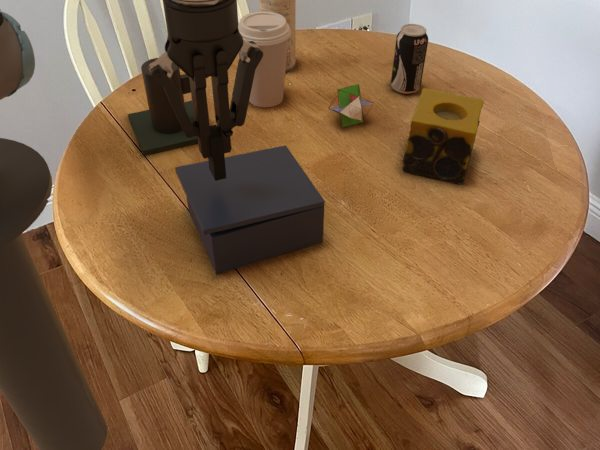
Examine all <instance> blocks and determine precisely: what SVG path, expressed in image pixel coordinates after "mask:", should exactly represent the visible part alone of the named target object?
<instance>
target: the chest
mask: <svg viewBox="0 0 600 450" xmlns="http://www.w3.org/2000/svg"><path fill="white" fill-rule="evenodd" d="M185 198H186V203H187V204H186V205H187V209H188V213H189V215H190V217H191V220H192V222H193V225H194V227H195V229H196V231H197V234H198V236H199V238H200V241H201V243H202V245H203V248H204V250H205V252H206V255H207V256H208V259H209V261H210V264H211V265H212V268H213V270H214V272H215V275H220V274H224V273H226V272H227V273H228V272H230V271H233V270H236V269H240V268H242V267H246V266H249V265H252V264H253V265H254V264H257V263H260V262H262V261H267V260H269V259H272V258H276V257H279V256H282V255H285V254H290V253H293V252H295V251H298V250H299V251H300V250H302V249H305V248H308V247H309V248H310V247H312V246H316V245H319V244H322V243H323V242H324V223H325V205H324V206H322V207H318V208H314V209H310V210H305V211H301V212H297V213H293V214H289V215H285V216H281V217H276V218H272V219H268V220H264V221H260V222H256V223H252V224H248V225H243V226H239V227H235V228H231V229H227V230H223V231H219V232H214V233H210V234H206V235H203V233H202V230H201V228H200V226H199V224H198V221H197V219H196V217H195V215H194V212H193V210H192V208H191V205H190V203H189V201H188V199H187V196H186V195H185Z"/></svg>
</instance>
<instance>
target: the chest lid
mask: <svg viewBox="0 0 600 450" xmlns="http://www.w3.org/2000/svg"><path fill="white" fill-rule="evenodd" d="M225 167H226V178H225V179H221V180H217V181H215V179H214V177H213V175H212V173H211V171H210V169H209V163H208V160H206V161H199V162H195V163H190V164H185V165H180V166H175V168H174V169H175V174H176V176H177V178H178V180H179V183H180V185H181V187H182V189H183V192H184V194H185V197H186V196H187V198H186V200H187V199H188V201H189V203H190V205H191V208H192V210H193V212H194V215H195V217H196V219H197V221H198V224H199V226H200V228H201V230H202V233H203V235H206V234H210V233H214V232H219V231H223V230H227V229H231V228H235V227H239V226H243V225H248V224H252V223H256V222H260V221H264V220H268V219H272V218H276V217H281V216H285V215H289V214H293V213H297V212H301V211H305V210H310V209H314V208H318V207H322V206H324V207H325V205H326V204H325V203H326V201H325V199H324V197H323V196H322V194H321V193H320V192H319V190H318V189H317V188H316V186H315V185H314V184H313V182H312V181H311V179H310V177H309V176H308V175H307V173H306V172H305V170H304V169H303V168H302V166H301V165H300V163H299V162H298V160H297V159H296V158H295V156H294V155H293V153H292V152H291V150H290V149H289V147H288V146H287V145H286V144H284V145H280V146H274V147H270V148H265V149H259V150H255V151H250V152H245V153H244V152H243V153H240V154H235V155H230V156H225Z"/></svg>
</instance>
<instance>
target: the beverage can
mask: <svg viewBox="0 0 600 450" xmlns="http://www.w3.org/2000/svg"><path fill="white" fill-rule="evenodd" d="M428 45H429V36H428V34H427V28H426V27H425V26H423V25H422V24H418V23H407V24H404V25H402V26H401V27H400V31H398V33H397V34H396V39H395V47H394V52H393V53H394V54H393V63H392V69H391V78H390V87H391V88H392V89H393V90H394V91H396V92H397V93H400V94H403V95H409V94H413V93H416V92H418V91H419V90H420V89H421V87H422V80H423V75H424V70H425V69H424V68H425V63H426V58H427V52H428V51H427V50H428Z"/></svg>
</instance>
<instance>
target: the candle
mask: <svg viewBox="0 0 600 450" xmlns="http://www.w3.org/2000/svg"><path fill="white" fill-rule="evenodd" d="M484 103H485V100H484V99H483V98H479V97H478V98H477V97H471V96H465V95H461V94H455V93H450V92H446V91H442V90H436V89H431V88H425V87H423V88H422V90H421V92H420V96H419V99H418V102H417V105H416V108H415V110H414V113H413V115H412V117H411V121H410V127H409V133H408V138H407V145H406V149H405V152H404V156H403V160H402V165H403V166H402V167H401V169H402V172H404V173H410V174H413V175H417V176H423V177H425V178H430V179H435V180H440V181H443V182H449V183H453V184H456V185H463V184H464V182H465V179H466V177H467V176H466V175H467V173H468V168H469V164H470V161H471V156H472V152H473V150H474V144H475V141H476V138H477V134H478V130H479V129H478V128H479V126H480V122H481V121H480V117H481V113H482V109H483V107H484Z"/></svg>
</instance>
